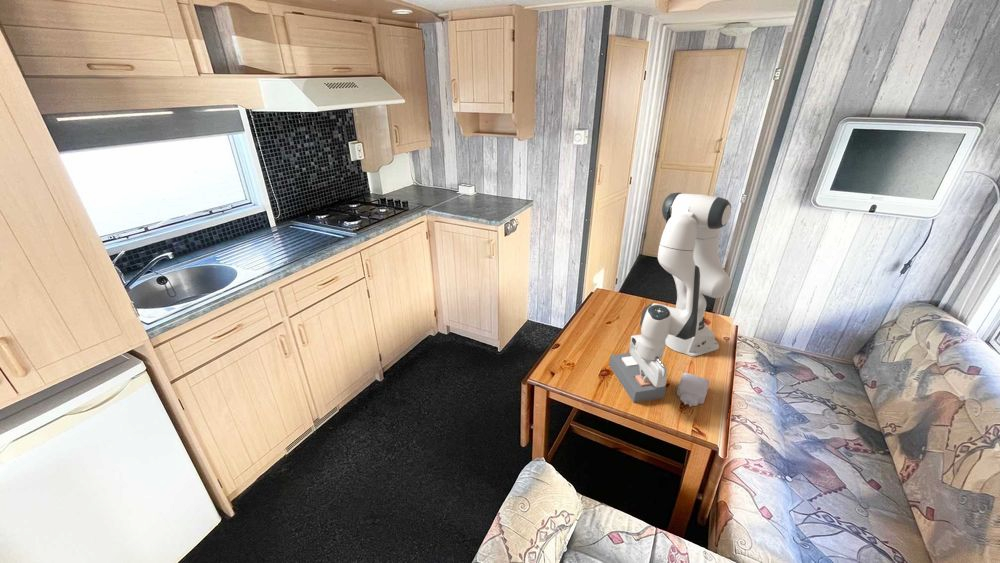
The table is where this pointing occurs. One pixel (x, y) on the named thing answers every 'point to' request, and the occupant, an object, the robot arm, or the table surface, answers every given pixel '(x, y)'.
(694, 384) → the charger
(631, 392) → the console
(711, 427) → the table surface
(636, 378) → the terracotta key
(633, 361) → the white key
